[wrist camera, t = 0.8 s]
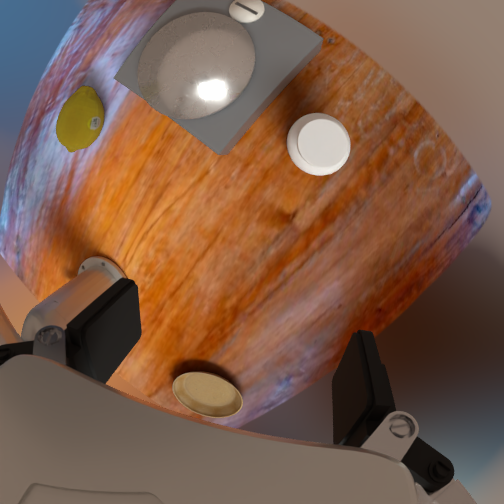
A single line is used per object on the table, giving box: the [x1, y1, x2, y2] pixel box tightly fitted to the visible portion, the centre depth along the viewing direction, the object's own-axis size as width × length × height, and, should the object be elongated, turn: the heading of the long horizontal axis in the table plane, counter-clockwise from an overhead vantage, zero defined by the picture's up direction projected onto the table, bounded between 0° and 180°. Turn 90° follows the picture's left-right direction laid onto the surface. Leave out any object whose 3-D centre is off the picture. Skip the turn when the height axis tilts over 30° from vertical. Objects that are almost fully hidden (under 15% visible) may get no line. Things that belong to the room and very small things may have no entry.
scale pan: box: [137, 12, 256, 119], centre depth 28 cm, size 15×15×1 cm
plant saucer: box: [173, 371, 243, 418], centre depth 52 cm, size 15×15×3 cm
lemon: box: [56, 86, 104, 152], centre depth 34 cm, size 11×8×8 cm
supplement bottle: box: [287, 113, 350, 175], centre depth 29 cm, size 7×7×13 cm
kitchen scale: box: [114, 0, 323, 155], centre depth 30 cm, size 20×20×6 cm
